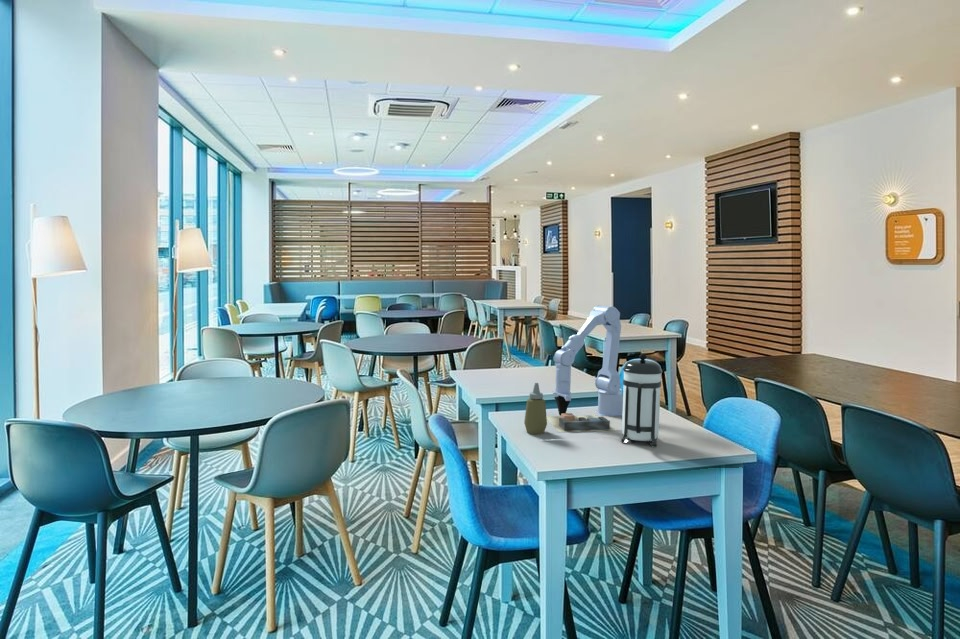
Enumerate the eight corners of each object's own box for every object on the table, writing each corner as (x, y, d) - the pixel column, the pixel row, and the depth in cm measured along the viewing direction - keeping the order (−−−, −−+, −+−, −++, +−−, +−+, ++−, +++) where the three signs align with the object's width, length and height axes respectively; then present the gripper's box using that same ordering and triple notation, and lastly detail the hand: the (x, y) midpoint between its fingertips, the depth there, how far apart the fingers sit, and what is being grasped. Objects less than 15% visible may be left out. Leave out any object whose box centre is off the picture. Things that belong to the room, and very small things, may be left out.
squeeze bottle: (522, 435, 196) (523, 384, 194) (525, 429, 204) (526, 380, 202) (545, 437, 194) (546, 385, 192) (548, 431, 202) (549, 381, 200)
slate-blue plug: (597, 425, 208) (597, 417, 208) (600, 428, 204) (601, 420, 204) (586, 425, 208) (586, 417, 208) (590, 428, 204) (590, 420, 204)
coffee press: (606, 437, 195) (608, 351, 193) (644, 433, 201) (647, 350, 199) (636, 451, 179) (639, 358, 177) (677, 447, 185) (681, 356, 182)
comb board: (595, 416, 224) (595, 407, 224) (617, 431, 202) (617, 422, 202) (543, 417, 221) (543, 409, 220) (559, 433, 199) (559, 423, 199)
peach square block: (571, 420, 215) (571, 413, 214) (574, 423, 211) (574, 415, 210) (560, 421, 214) (561, 413, 214) (564, 423, 210) (564, 416, 210)
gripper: (548, 377, 225) (547, 411, 226) (558, 384, 210) (557, 420, 211) (565, 377, 226) (564, 410, 227) (576, 384, 211) (575, 419, 212)
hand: (562, 415), depth 219 cm, fingers closed
